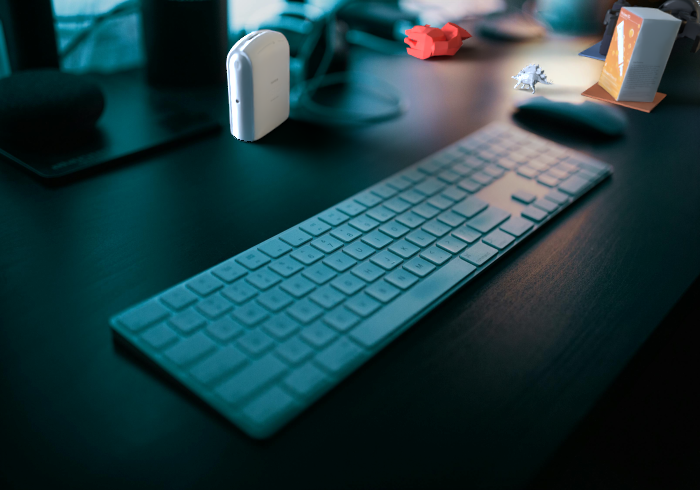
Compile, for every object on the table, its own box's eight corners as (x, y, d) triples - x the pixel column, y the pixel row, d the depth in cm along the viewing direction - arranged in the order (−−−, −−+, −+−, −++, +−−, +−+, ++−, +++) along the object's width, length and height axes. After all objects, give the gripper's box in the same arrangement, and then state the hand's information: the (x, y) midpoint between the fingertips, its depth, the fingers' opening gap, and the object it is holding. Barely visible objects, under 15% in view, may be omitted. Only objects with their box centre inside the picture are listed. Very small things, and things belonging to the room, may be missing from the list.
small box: (596, 84, 102) (620, 5, 94) (632, 86, 102) (658, 8, 95) (616, 101, 95) (643, 17, 88) (653, 103, 95) (684, 20, 88)
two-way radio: (601, 49, 122) (624, -29, 113) (623, 53, 120) (649, -26, 112) (596, 55, 118) (620, -26, 109) (619, 59, 116) (645, -22, 108)
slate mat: (662, 50, 126) (663, 49, 125) (638, 68, 113) (639, 67, 112) (606, 38, 131) (607, 37, 131) (578, 54, 118) (578, 53, 118)
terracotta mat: (665, 96, 100) (666, 94, 99) (649, 112, 92) (649, 110, 92) (601, 80, 105) (602, 78, 105) (581, 94, 97) (581, 93, 97)
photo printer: (255, 145, 73) (252, 45, 66) (226, 138, 74) (220, 38, 67) (293, 118, 81) (294, 26, 74) (266, 112, 82) (265, 21, 75)
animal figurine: (478, 49, 117) (482, 23, 114) (445, 66, 106) (450, 37, 103) (426, 38, 122) (430, 12, 119) (390, 53, 111) (393, 25, 108)
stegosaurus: (548, 97, 95) (556, 69, 92) (507, 88, 98) (513, 60, 95) (552, 93, 97) (559, 65, 94) (511, 84, 100) (517, 57, 97)
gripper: (743, 50, 108) (724, 75, 93) (607, 24, 120) (572, 42, 105) (761, 8, 104) (745, 27, 89) (619, -16, 115) (584, -2, 101)
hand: (651, 35), depth 97 cm, fingers open, 13 cm apart
